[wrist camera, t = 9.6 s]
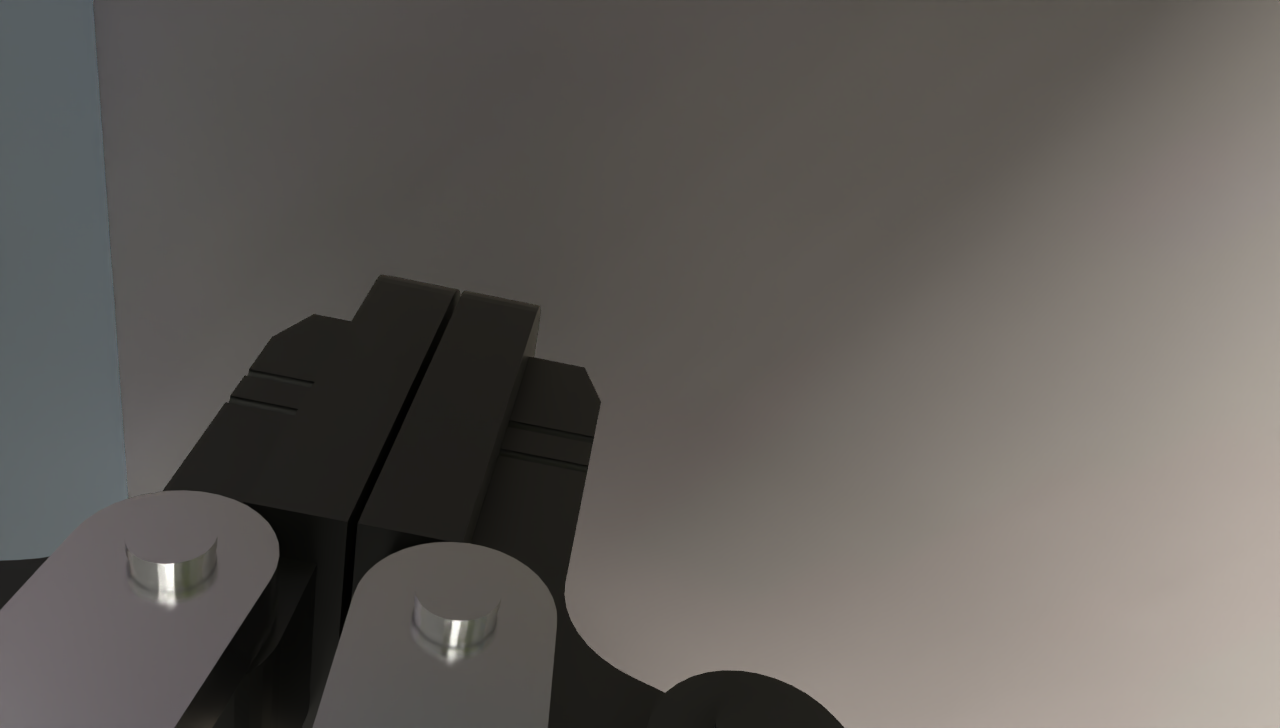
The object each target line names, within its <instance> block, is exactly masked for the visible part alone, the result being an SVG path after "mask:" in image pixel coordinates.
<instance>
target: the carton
mask: <svg viewBox="0 0 1280 728" xmlns="http://www.w3.org/2000/svg"><path fill="white" fill-rule="evenodd" d="M125 499H128V486H127V472H126V458H125V444H124V430H123V416H122V402H121V387H120V373H119V359H118V345H117V331H116V317H115V303H114V289H113V275H112V261H111V247H110V233H109V219H108V205H107V191H106V177H105V163H104V149H103V134H102V120H101V106H100V92H99V78H98V64H97V50H96V36H95V22H94V8H93V0H0V561H2V560H23V559H35V558H43V557H49V556H51V554H52V553H53V552H54V551H55V550H56V549H57V548H58V547H59V546H60V545H61V544H62V543H63V541H64V540H65V539H66V538H67V537H68V536H69V535H70V534H71V533H72V532H73V531H74V530H75V529H76V528H77V527H78V526H79V525H80V524H81V523H82V522H83V521H85V520H86V519H87V518H89V517H90V516H92V515H93V514H95V513H96V512H98V511H99V510H101V509H104V508H106V507H108V506H110V505H112V504H114V503H116V502H119V501H122V500H125Z"/></svg>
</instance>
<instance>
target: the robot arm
mask: <svg viewBox="0 0 1280 728" xmlns="http://www.w3.org/2000/svg"><path fill="white" fill-rule="evenodd" d="M540 312H541V307H540V306H539V305H534V304H529V303H524V302H519V301H514V300H509V299H504V298H499V297H494V296H489V295H484V294H479V293H474V292H469V291H464V292H463V293H462V295H461V297H460V291H459V290H458V289H453V288H448V287H443V286H438V285H433V284H428V283H423V282H418V281H413V280H408V279H403V278H398V277H393V276H388V275H380V276H379V277H378V279H377V280H376V282H375V283H374V285H373V287H372V288H371V290H370V292H369V293H368V295H367V297H366V298H365V300H364V301H363V303H362V305H361V306H360V308H359V310H358V311H357V313H356V315H355V316H354V318H353V320H352V321H346V320H341V319H336V318H331V317H326V316H321V315H316V314H313V315H311V316H310V317H308V318H306V319H304V320H302V321H301V322H299V323H297V324H295V325H293V326H291V327H290V328H288V329H286V330H284V331H282V332H280V333H279V334H277V335H275V336H273V337H272V338H271V339H270V341H269V342H268V343H267V345H266V346H265V348H264V349H263V351H262V352H261V353H260V355H259V356H258V358H257V359H256V360H255V362H254V363H253V365H252V366H251V367H250V369H249V374H248V376H244V377H243V379H242V380H241V381H240V383H239V384H238V386H237V387H236V389H235V390H234V391H233V393H232V394H231V396H230V401H229V403H225V404H224V405H223V407H222V408H221V410H220V411H219V412H218V414H217V415H216V417H215V418H214V419H213V421H212V422H211V424H210V425H209V427H208V428H207V429H206V431H205V432H204V434H203V435H202V436H201V438H200V439H199V441H198V442H197V443H196V445H195V446H194V448H193V449H192V450H191V452H190V453H189V455H188V456H187V457H186V459H185V460H184V462H183V463H182V465H181V466H180V467H179V469H178V470H177V472H176V473H175V474H174V476H173V477H172V479H171V480H170V481H169V483H168V484H167V486H166V487H165V488H164V490H163V491H162V492H154V493H147V494H143V495H139V496H135V497H131V498H128V499H125V500H122V501H119V502H116V503H114V504H112V505H110V506H108V507H106V508H104V509H101V510H99V511H98V512H96V513H95V514H93V515H92V516H90V517H89V518H87V519H86V520H85V521H83V522H82V523H81V524H80V525H79V526H78V527H77V528H76V529H75V530H74V531H73V532H72V533H71V534H70V535H69V536H68V537H67V538H66V539H65V540H64V541H63V543H62V544H61V545H60V546H59V547H58V548H57V549H56V550H55V551H54V552H53V553H52V554H51V556H49V557H43V558H35V559H23V560H2V561H0V728H844V727H843V726H842V725H841V724H840V722H839V721H838V720H837V719H836V718H835V717H834V716H833V715H832V714H831V713H830V712H829V711H828V710H827V709H825V708H824V707H823V706H822V705H821V704H820V703H818V702H817V701H816V700H814V699H813V698H812V697H810V696H809V695H808V694H806V693H804V692H802V691H800V690H799V689H797V688H795V687H793V686H792V685H789V684H787V683H784V682H782V681H780V680H777V679H775V678H771V677H768V676H764V675H761V674H757V673H751V672H744V671H715V672H707V673H703V674H700V675H696V676H693V677H690V678H688V679H686V680H684V681H682V682H680V683H678V684H677V685H675V686H674V687H673V688H671V689H670V690H669V691H667V692H666V693H664V692H662V691H660V690H658V689H656V688H654V687H652V686H649V685H647V684H645V683H643V682H641V681H639V680H637V679H635V678H633V677H631V676H629V675H627V674H625V673H624V672H622V671H620V670H618V669H616V668H615V667H613V666H612V665H610V664H609V663H608V662H606V661H605V660H603V659H602V658H601V657H600V656H599V655H597V654H596V653H595V652H594V651H593V650H592V649H591V648H590V647H589V646H588V645H587V644H586V643H585V641H584V640H583V639H582V638H581V636H580V635H579V634H578V632H577V631H576V629H575V627H574V625H573V624H572V622H571V620H570V617H569V614H568V611H567V608H566V603H565V596H564V592H565V581H566V576H567V571H568V566H569V561H570V556H571V551H572V546H573V541H574V536H575V530H576V525H577V520H578V515H579V510H580V505H581V500H582V495H583V490H584V485H585V480H586V475H587V470H588V465H589V459H590V454H591V449H592V444H593V439H594V434H595V429H596V424H597V419H598V414H599V409H600V404H601V401H600V399H599V397H598V395H597V393H596V391H595V389H594V386H593V384H592V382H591V380H590V378H589V376H588V374H587V372H586V370H585V368H584V367H579V366H574V365H569V364H564V363H559V362H554V361H549V360H544V359H539V358H534V353H535V347H536V341H537V335H538V328H539V321H540Z"/></svg>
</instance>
